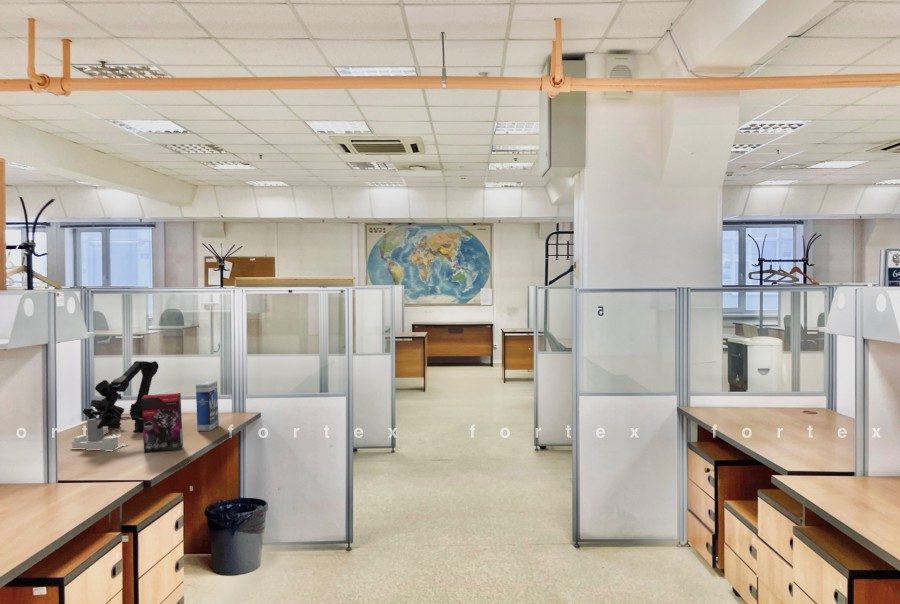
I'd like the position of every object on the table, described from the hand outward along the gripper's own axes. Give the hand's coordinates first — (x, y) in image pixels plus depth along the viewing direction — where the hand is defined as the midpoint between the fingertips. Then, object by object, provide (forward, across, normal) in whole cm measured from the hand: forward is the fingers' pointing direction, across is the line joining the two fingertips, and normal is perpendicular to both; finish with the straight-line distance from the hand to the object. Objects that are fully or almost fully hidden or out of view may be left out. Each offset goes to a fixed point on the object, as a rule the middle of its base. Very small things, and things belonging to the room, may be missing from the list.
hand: (93, 428), depth 307 cm
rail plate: (+6, +2, +8) cm, 10 cm away
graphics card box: (+5, +38, +9) cm, 39 cm away
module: (+4, 0, +6) cm, 7 cm away
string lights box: (-25, +33, +39) cm, 57 cm away
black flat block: (-18, -22, +33) cm, 43 cm away
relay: (-9, -17, +23) cm, 30 cm away
